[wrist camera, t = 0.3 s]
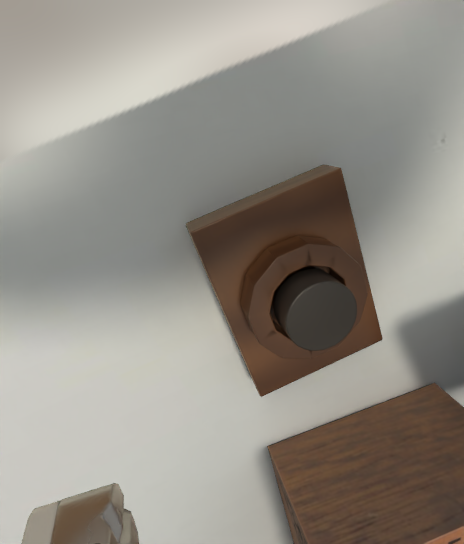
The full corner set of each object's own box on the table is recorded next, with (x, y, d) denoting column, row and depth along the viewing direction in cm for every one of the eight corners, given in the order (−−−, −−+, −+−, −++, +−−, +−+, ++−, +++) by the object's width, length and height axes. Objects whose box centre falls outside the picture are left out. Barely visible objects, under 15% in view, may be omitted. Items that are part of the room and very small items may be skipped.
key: (263, 286, 21) (276, 301, 20) (329, 256, 22) (348, 269, 20) (285, 344, 23) (298, 363, 21) (346, 315, 23) (364, 332, 21)
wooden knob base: (184, 223, 23) (194, 241, 19) (323, 163, 24) (358, 170, 20) (251, 377, 28) (269, 416, 24) (365, 324, 28) (399, 354, 25)
